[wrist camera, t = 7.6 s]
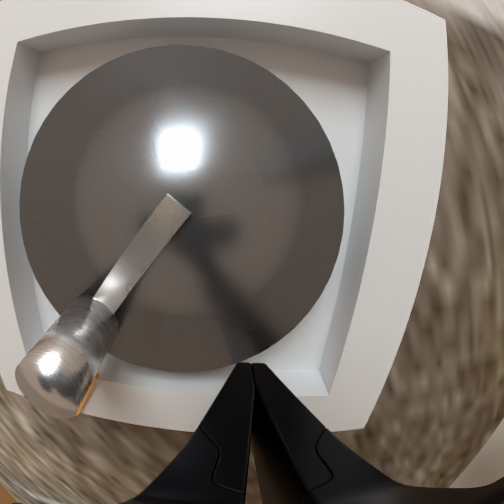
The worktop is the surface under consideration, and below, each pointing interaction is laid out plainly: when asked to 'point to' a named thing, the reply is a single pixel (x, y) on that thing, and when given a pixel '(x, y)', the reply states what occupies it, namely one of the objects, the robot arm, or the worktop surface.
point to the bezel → (345, 150)
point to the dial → (174, 218)
